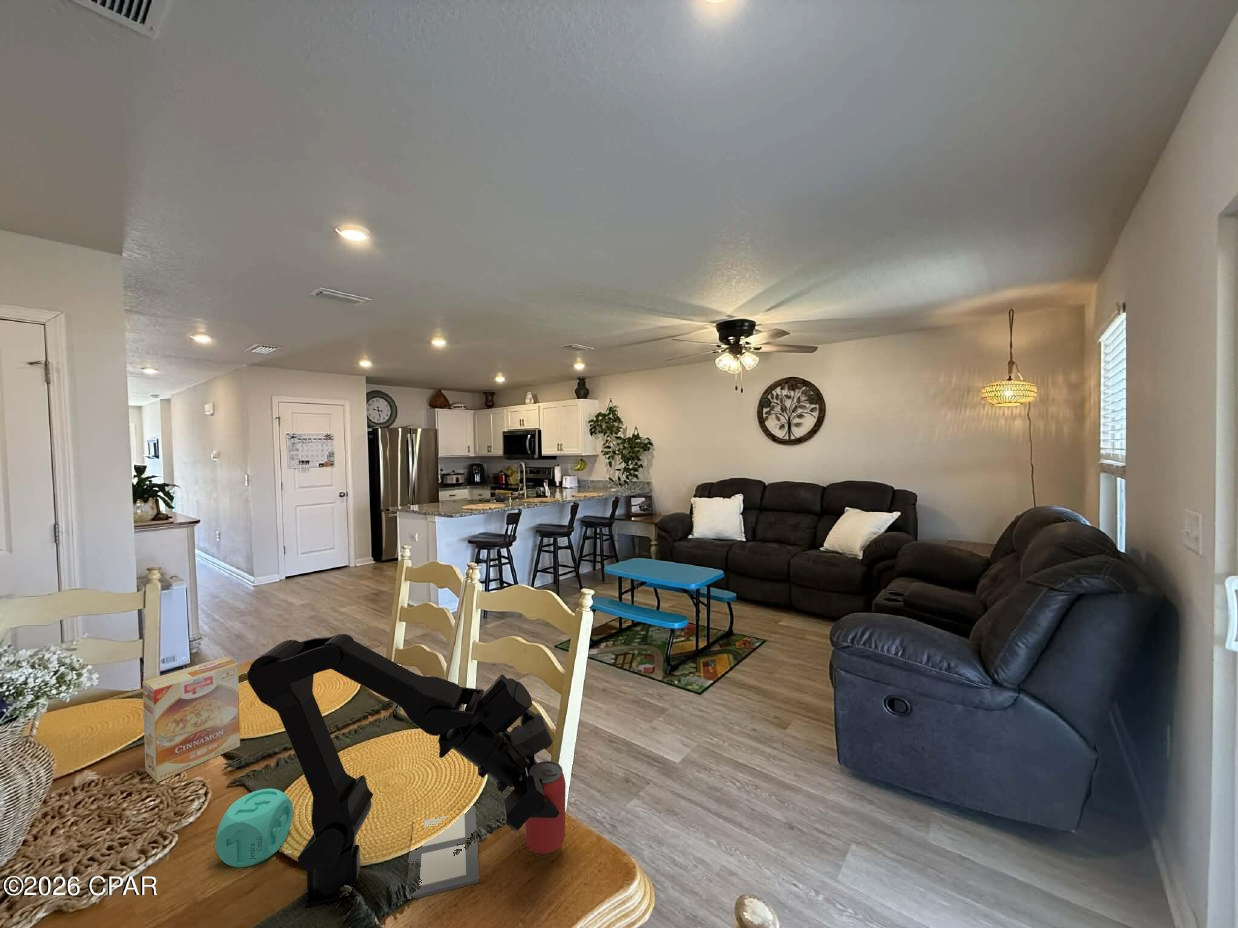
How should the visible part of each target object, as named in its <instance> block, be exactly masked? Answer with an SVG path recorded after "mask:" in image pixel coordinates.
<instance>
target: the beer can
mask: <svg viewBox="0 0 1238 928" xmlns="http://www.w3.org/2000/svg"><path fill="white" fill-rule="evenodd" d="M532 775H533V776H535V777H536V778H537V779H538V780H540V779H541V778H542V781H543V785H544V794H545V795H546V796H547V797H548V798H549V799H550V800H551V802H552V803H553V804H554V805H555V806H556V807H557V809H558V810H559V812H560V813H559V815H558V816H557V817H556V818H529V819H528V820H527V821H526V822H525V823H524V825H525V827H524V829H525V833H524V834H525V835H524V839H525V844H526V846H527V848H528V849H529V850H531V851H532V852H533V853H537V854H542V855H543V854H544V855H546V854H551V853H552V852H555V851H557V850H559V848H560V847H561V846H562V845H563V843H564V841H565V838H566V779H565V778H566V777H565V775H564V772H563V767H562V765H560V763H558V762H556V761H553V760H544V761H539V762H537V763H536V764H535V765H533V766H532V767H531V768H530V770H529V776H532Z"/></svg>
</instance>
